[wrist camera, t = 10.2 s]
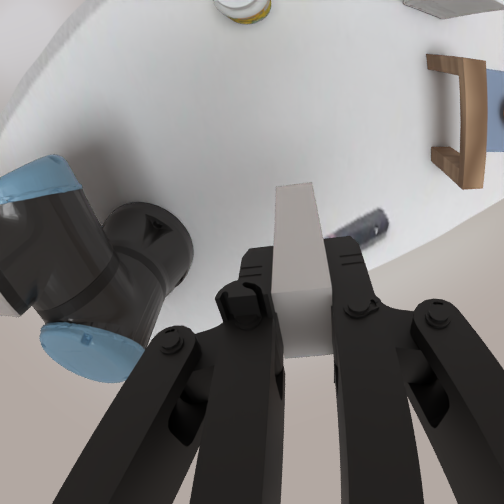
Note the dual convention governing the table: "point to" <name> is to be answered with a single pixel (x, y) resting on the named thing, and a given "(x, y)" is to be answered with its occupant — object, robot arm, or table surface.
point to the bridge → (465, 121)
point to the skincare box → (455, 7)
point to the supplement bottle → (244, 10)
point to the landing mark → (495, 111)
